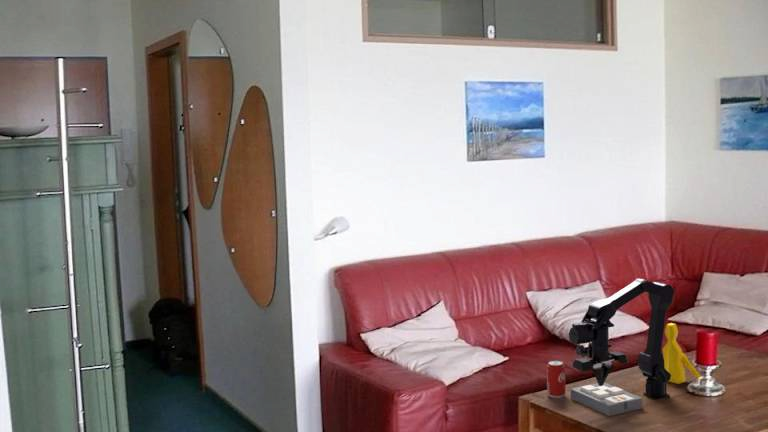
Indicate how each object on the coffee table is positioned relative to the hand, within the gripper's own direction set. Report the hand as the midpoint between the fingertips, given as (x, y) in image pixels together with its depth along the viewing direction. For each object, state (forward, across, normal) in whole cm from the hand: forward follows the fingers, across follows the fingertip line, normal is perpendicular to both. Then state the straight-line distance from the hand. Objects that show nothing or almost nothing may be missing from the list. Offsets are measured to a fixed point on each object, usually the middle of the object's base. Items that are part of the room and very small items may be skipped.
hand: (600, 385), depth 280 cm
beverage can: (+7, +7, -16) cm, 19 cm away
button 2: (+5, 0, 0) cm, 5 cm away
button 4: (+5, -6, 0) cm, 8 cm away
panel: (+7, -3, -1) cm, 8 cm away
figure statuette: (+7, -38, -6) cm, 40 cm away
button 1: (+5, 0, -6) cm, 8 cm away
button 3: (+6, -6, -6) cm, 10 cm away
